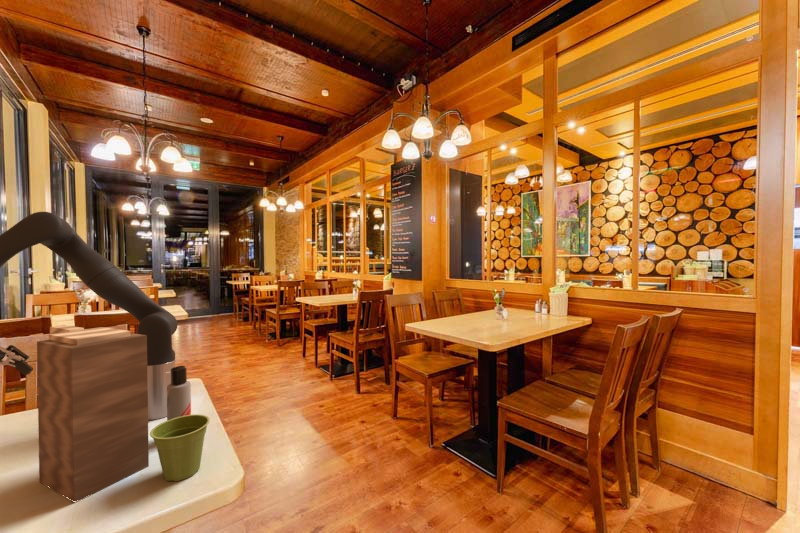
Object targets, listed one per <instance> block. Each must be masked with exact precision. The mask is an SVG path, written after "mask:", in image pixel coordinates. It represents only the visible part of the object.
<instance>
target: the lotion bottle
mask: <svg viewBox="0 0 800 533" xmlns="http://www.w3.org/2000/svg"><path fill="white" fill-rule="evenodd" d="M187 369H188V368H187V367H186V366H185V365H177V366H175V367H174V368H172V369H171V384H169V385H168V386H167V416H166V417H167V418H166V421H168V420H171V419H173V418H177V417H181V416H186V415H192V400H191V399H192V394H191V391H192V389H191V387H192V386H191V385H192V384H191V381H188V378H187V377H188V376H187V374H188V373H187V371H188V370H187Z"/></svg>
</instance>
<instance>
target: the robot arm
mask: <svg viewBox="0 0 800 533" xmlns="http://www.w3.org/2000/svg"><path fill="white" fill-rule="evenodd" d="M39 244H40V245H42V246H44V247H46V248H47V249H48V250H50V251H52V252H53V253H55V254H56V255H57V256H58V257H60V258H61V259H63V260H64V261H65V262H66V263H67V264H68V266H69V267H70V268H71V269H72V271H73V272H74V273H75V275H76V276H77V277H78V279H79V280H80V281H81V282H82V283H83V284H84V285H85V286H86V287H88V288H89V289H90V290H91V291H92V292H93V293H95V294H96V295H97V297H99V298H100V299H102V300H104V301H106V302H108V303H109V304H111V305H114V306H115V307H118V308H120V309H122V310H124V311H125V312H127V313H129V314H130V315H132V316H133V317H134V318H135V319H136V320H137V321H138V322H139V323H138V325H137V330H136V334H141V335H147V379H148V421H149V420H151V421H152V420H153V421H154V420H159V419H163V418H165V417H167V386H168V385H169V384H171V369H172V368H174V367H176V352H175V350H174V348H173V342H172V341H173V340H172V339H173V337H172V336H173V335H174V334H175V333H176V331H177V329H178V320H177V319H176V317H175V315H173V314H172V313H171V312H170V311H168V310H166V309H165V308H164V307H162V306H161V305H159V304H158V303H157V302H156V301H155V300H153V299H152V298H150V297H149V296H148V295H147V294H146V293H145V292H144V291H143V290H142V289H141V288H140V286H138V285H136V284H135V283H134V282H133V281H132V279H130V278H129V276H127V275H126V274H125V273H124V272H123V271H122V270H121V269H120V268H119V267H117V266H116V264H113V263H112V262H111V261H110V260H108V259H107V258H106V257H105V256H103V255H102V254H101V253H99V252H97V251H96V250H95V249H93V248H92V247H91V246H90V245H88V243H86V242H85V241H84V239H83V238H82V237H81V236H80V235H79V234H78V232H76V230H75V229H74V228H73V227H72V226H71V225H70V224H69V222H68V221H66V220H65V219H63V218H62V217H60V216H59V215H56V214H55V213H52V212H50V211H49V212H48V211H35V212H33V213H30V214H28V215H27V216H25V217H24V218H23V219H21V220H20V221H19V222H17V223H15V224H14V225H13V226H11V227H10V228H9V229H6V231H4V232H3V233H1V234H0V269H1V268H2V267H3V266H4V265H5V264H6V263H7V262H9V260H11V259H12V258H13V257H14V256H16V255H18V254H19V253H21V252H22V251H25V250H26V249H29V248H31V247H33V246H36V245H39ZM5 357H7V358H6V359H5ZM29 358H30V356H29V355H28V354H27V353H25V352H23V351H22V350H21V349H19V348H18V347H17V346H14V345H12V344H9V345H8V346H7V347H2V346H0V366H10V367H12V368H14V369H15V370H17V371H18V372H19V373H20V374H22V375H23V376H27V375H30V374H31V373H32V371H33V370H34V368H33V366H31V365H30V364H29V363H28V362H26V361H27V360H29ZM4 359H5V360H4Z"/></svg>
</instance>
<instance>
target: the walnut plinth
mask: <svg viewBox="0 0 800 533" xmlns="http://www.w3.org/2000/svg"><path fill="white" fill-rule="evenodd" d="M36 355H37V361H36V364H37V370H36V372H37V411H38V412H37V414H38V415H37V420H38V467H39V468H38V469H39V470H38V472H39V473H38V474H39V478H38V479H39V483H40V484H41V483H42V484H41V485H43V484H45V485H47V486H49V487H50V488H51V489H50V488H49V489H50V490H52V489H53V490H54V492H55V491H56V492H55V493H57V492H58V493H59V495H60V494H61V495H60V496H62V495H64V496H65V497H68V498H69V499H71V500H73V501H77V500H80V499H82V498H84V497H86V496H88V495H90V496H92V495H94V494H97V493H98V492H100V491H102V490H103V489H107V488H108V487H110V486H112V485H114V484H116V483H118V482H120V481H123V480H124V479H127V478H128V477H130V476H132V475H134V474H136V473H139V472H140V471H142V470H144V469H146V468H148V467H149V466H150V463H149V462H150V460H149V456H150V455H149V454H150V453H149V420H148V379H147V335H141V334H137V333H133V332H130V336H127V337H122V338H116V339H110V340H104V341H98V342H93V343H87V344H81V345H74V344H69V343H64V342H58V341H53V340H49V339H44V340H39V341H36ZM45 485H44V486H45ZM53 490H52V491H53ZM58 493H57V494H58ZM91 494H92V495H91ZM65 497H64V498H65ZM88 497H89V496H88ZM86 498H87V497H86ZM84 499H85V498H84ZM82 500H83V499H82ZM80 501H81V500H80Z"/></svg>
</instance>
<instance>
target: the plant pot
mask: <svg viewBox="0 0 800 533" xmlns="http://www.w3.org/2000/svg"><path fill="white" fill-rule="evenodd" d="M208 424H210V417H209V416H208V415H205V414H191V415H186V416H181V417H177V418H173V419H171V420H168V421H167V420H166V421H163V422H161V423H159V424H158V425H156V426H154V428H152V429H151V430H150V432H149V436H150V437H151V438H152V439H153V441H154V446H156V451H157V454H158V459H159V462H160V463H159V464H160V467H161V471H162V476H163V478H164V480H166V481H167V482H170V481H174V482H176V481H177V482H179V481H183V480H185V479H187V478H190V477H192V476H193V475H195V474H196V473H197V471H198V470H200V468H201V462H202V455H203V454H202V453H203V447H204V441H205V435H206V433H207V426H208Z"/></svg>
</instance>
